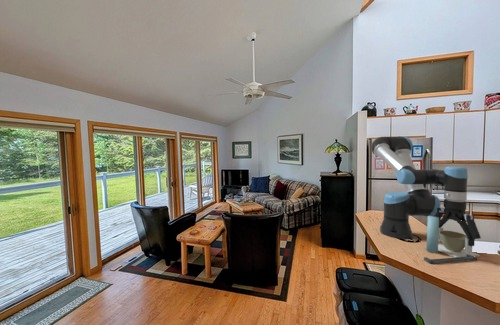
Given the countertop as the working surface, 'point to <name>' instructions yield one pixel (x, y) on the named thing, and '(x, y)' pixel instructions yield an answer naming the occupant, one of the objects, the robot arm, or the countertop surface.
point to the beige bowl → (453, 240)
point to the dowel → (432, 234)
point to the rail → (450, 259)
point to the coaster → (454, 254)
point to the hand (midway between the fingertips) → (453, 246)
